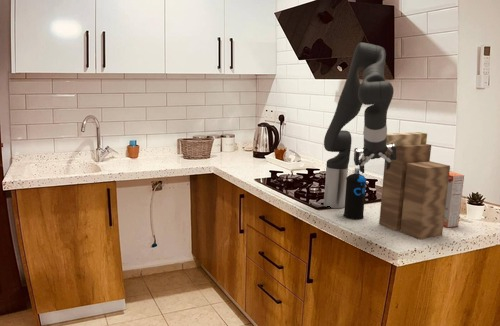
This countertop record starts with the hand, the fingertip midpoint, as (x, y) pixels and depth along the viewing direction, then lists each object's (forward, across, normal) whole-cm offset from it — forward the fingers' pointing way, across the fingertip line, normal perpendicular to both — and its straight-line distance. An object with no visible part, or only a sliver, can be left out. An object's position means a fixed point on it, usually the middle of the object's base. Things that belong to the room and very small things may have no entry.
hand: (374, 169), depth 169 cm
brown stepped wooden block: (+27, +12, -7) cm, 30 cm away
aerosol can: (+30, -7, +6) cm, 32 cm away
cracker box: (+35, +26, +1) cm, 44 cm away
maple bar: (0, +12, +11) cm, 16 cm away
